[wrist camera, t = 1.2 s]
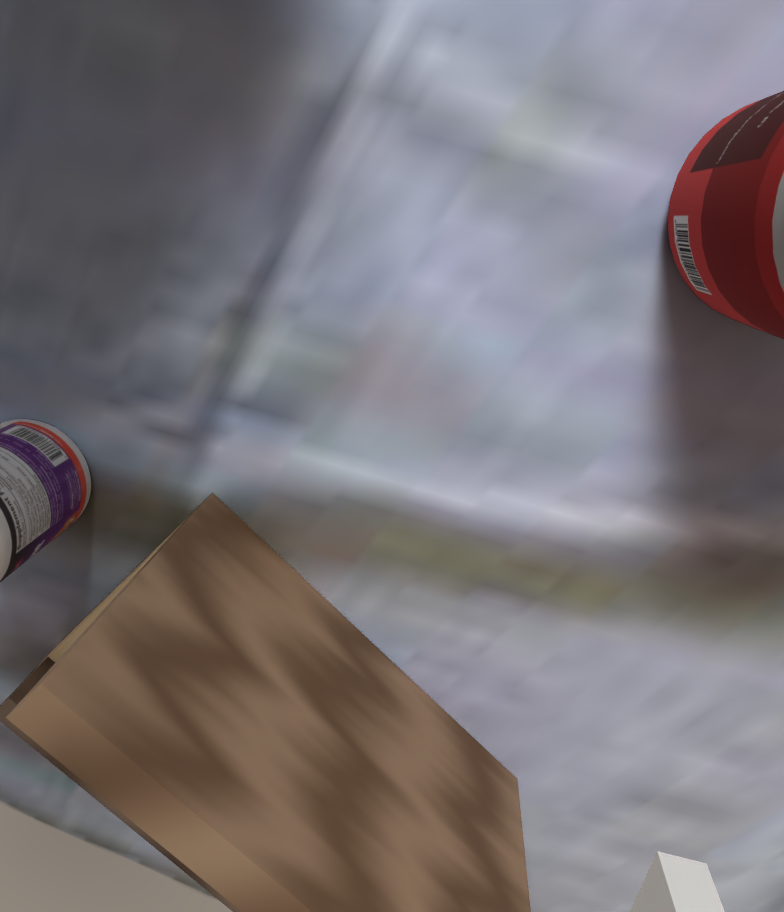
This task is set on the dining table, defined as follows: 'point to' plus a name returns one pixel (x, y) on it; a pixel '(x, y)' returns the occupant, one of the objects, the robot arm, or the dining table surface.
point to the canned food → (735, 216)
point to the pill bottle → (37, 488)
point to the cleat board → (271, 740)
